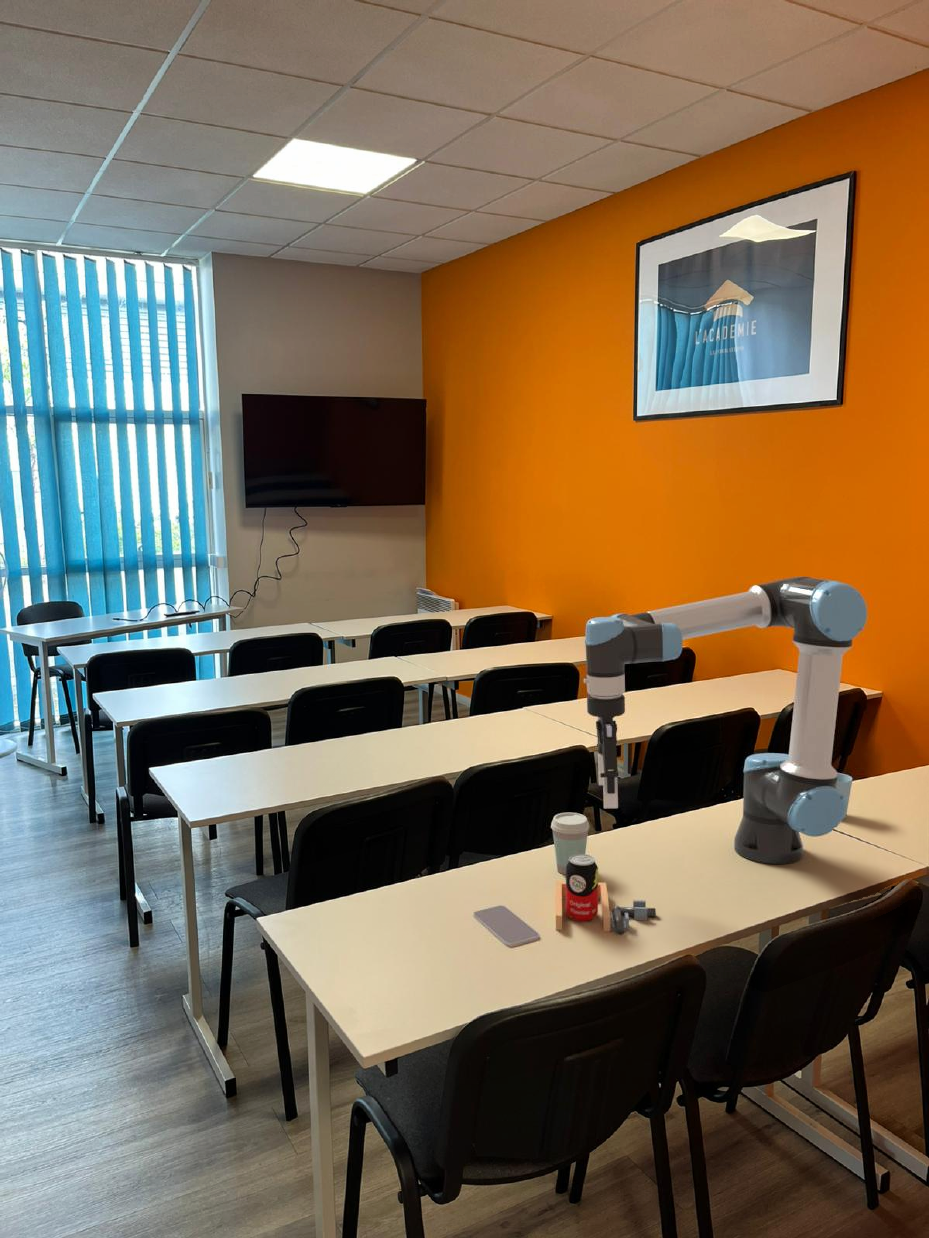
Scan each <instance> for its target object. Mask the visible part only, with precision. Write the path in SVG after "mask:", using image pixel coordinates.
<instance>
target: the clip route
mask: <svg viewBox="0 0 929 1238" xmlns="http://www.w3.org/2000/svg"><path fill="white" fill-rule="evenodd" d="M656 914H657V910H656V908H655V907H647V905H646V900H644V899H643V900H639V899H638V900H637V899H633V900H632V907H631V906H630V907H627V906H626V907H625V906H619V905H615V906H614V907H613V908H612V912H611V911H610V931H615V933H616V934H617V935H619V936H621V935H623V934H624V933H625V931H629V930H630V926H629V925H630V923H629V922H630V917H633V918H634V920H635V921H648V917H654V918H655V917H656V916H657V915H656ZM623 917H624V920H623Z"/></svg>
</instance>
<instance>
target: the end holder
mask: <svg viewBox="0 0 929 1238" xmlns="http://www.w3.org/2000/svg"><path fill="white" fill-rule="evenodd" d="M607 889H608V888H607V882H599V881H598V900H599V899H600V900H599V901H600V908H601V909H600V910H601V918H602V927H603V932H606V933H610V932H611V930H610V912H611V911H610V906H609V905H610V904H609V895H608V890H607ZM564 898H565V899H566V881H564V880H563V881H560V880H559V881H555V930H556V931H562V930H563V899H564Z"/></svg>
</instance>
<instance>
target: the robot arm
mask: <svg viewBox="0 0 929 1238" xmlns="http://www.w3.org/2000/svg"><path fill="white" fill-rule="evenodd" d="M867 620H868V608H867V604H866V601H865V598H864V596H863V595H862V594H861V593H860V592H859V590H858V589H856V588H854V586H851V585H850V584H847V583H844V582H841V581H838V580H833V579H832V580H830V579H823V578H815V577H810V576H794V577H787V578H784V579H779V580H774V581H771V582H770V581H769V582H767V583H766V582H765V583H762V584H757V585H753V586H751V587H750V588H749V589H748V591H744V592H740V593H736V594H730V595H726V596H720V597H714V598H710V599H705V600H700V601H695V602H690V603H684V604H680V605H674V606H669V607H664V608H660V609H654V610H650V611H646V612H638V613H634V614H627V613H616V614H613V615H610V616H606V617H605V616H599V617H598V616H597V617H594V618H590V619H589V620H587V622H586V625H585V633H584V634H585V636H584V637H585V638H584V644H585V662H586V663H585V665H586V678H583V684H586V691H587V692H586V693H588V695H587V697H586V704H587V705H586V706H587V707H586V708H587V709H586V710H587V711H586V712H587V714H589V715H590V716H592V717H595V718H597V720H596V721H595V727H596V736H597V743H596V747H597V762H598V763H597V764H598V765H597V766H598V786H602V787H603V788H602V789H603V792H602V794H603V809H619V801H618V800H619V797H618V795H619V793H618V789H619V788H618V787H619V786H618V777H619V775H620V774H619V772H618V771H619V770H618V755H617V753H618V752H617V743H618V737H617V733H618V724H617V722H616V720H614V718H615V717H620V716H623V715H624V714H625V712H626V704H625V702H626V700H625V699H626V697H625V695H624V694H625V693H626V684H625V683H626V682H625V681H626V680H625V679H626V678H625V675H626V674H625V665H627V664H628V665H630V664H640V663H650V662H651V663H652V662H653V663H654V662H666V661H671V660H676V659H678V658H679V657H680V655H681V654H682V651H683V645H684V644H683V643H684V642H683V641H684V640H687V639H693V638H698V637H703V636H708V635H713V634H718V633H723V632H727V631H733V630H736V629H737V630H738V629H741V628H747V627H753V626H755V627H757V628H760V629H764V628H770V627H783V628H790V629H793V635H792V643H793V644H794V645H795V647H797V648H798V651H799V652H798V661H797V670H796V671H797V672H796V679H795V680H796V681H795V691H794V699H793V700H794V701H793V702H794V703H793V708H792V709H793V710H792V711H793V712H792V721H791V729H790V730H791V731H790V737H789V738H790V739H789V740H790V741H789V748H788V749H789V750H788V754H787V753H777V752H776V753H775V752H764V753H755V754H751V755H748V756H747V757H746V759H745V760H744V767H743V771H742V772H743V795H742V796H743V797H742V798H743V801H742V818H741V821H740V823H739V826H738V829H737V831H736V834H735V836H734V843H733V844H734V845H733V848H734V851H735V852H736V853H737V854H738V855H739V856H741V857H743V858H745V859H748V860H751V861H753V862H757V863H763V864H772V865H784V864H791V863H795V862H799V860H801V859H802V857H803V855H804V854H803V853H804V846H803V845H804V844H803V842H802V838H801V835H800V833H801V834H802V835H804V836H808V837H815V838H816V837H822V836H825V835H828V834H829V833H831V832H832V831H833V830H834V829H835V828H837V827H838V826H839V825H840V824H841V822H842V820H844V819H843V817H844V814H845V809H846V803H845V799H844V797H843V796H842V794H841V793H840V791H838V790H837V789H836V785H837V776H838V774H837V773H838V771H837V770H836V769H835V768H834V767H833V766H832V761H833V760H832V758H833V751H834V748H833V747H834V742H835V741H834V740H835V730H836V724H837V723H836V721H837V712H838V704H839V703H838V702H839V694H840V693H839V692H840V683H841V678H842V677H841V676H842V675H841V674H842V666H843V656H844V654H846V653H847V652H848V651H849V650H850V649H852V647H853V639H855V638H856V637H858V636H859V635H860V632H861V631H863V630H864V628H865V626H866V624H867Z"/></svg>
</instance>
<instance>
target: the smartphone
mask: <svg viewBox="0 0 929 1238" xmlns="http://www.w3.org/2000/svg"><path fill="white" fill-rule="evenodd" d="M472 917H473V918H474V919H475V920H476V921H478V922H479V923H480V924H481V925H482V926H483V927H484V928H485V929H487V930H488V931H489V932H490V933H491V934H492V935H493V936H494V937H496V938H497V940H499V941H500V942H502V944H504V946H507V947H510V948H512V947H516V946H520V945H523V944H527V943H530V942H533V941H537V940H539V939H540V933H539V932H538V931H537V930H535V928H533V927H532V926H531V925H530V924H529V923H527V922H526V921H525V920H523V919H521V917H519V916H518V915H517V914H516V913H514V912H513V911H512V910H510V909H509V908H508V907H507V906H505V905H502V904H501V905H500V904H499V905H495V906H491V907H488V908H483V909H479V910H475V911H474V912H472Z"/></svg>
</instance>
